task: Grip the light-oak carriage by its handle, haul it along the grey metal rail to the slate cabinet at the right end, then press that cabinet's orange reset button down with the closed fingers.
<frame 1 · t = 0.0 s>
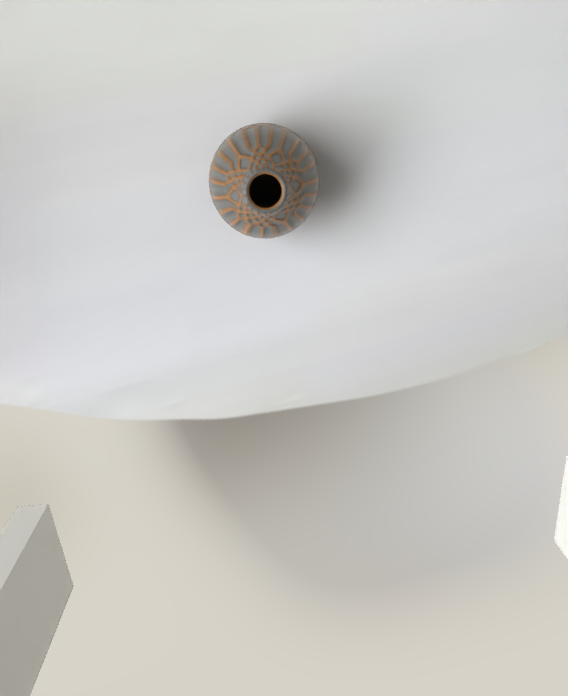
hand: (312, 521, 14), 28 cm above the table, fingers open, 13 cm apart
vase: (263, 176, 38), on the table
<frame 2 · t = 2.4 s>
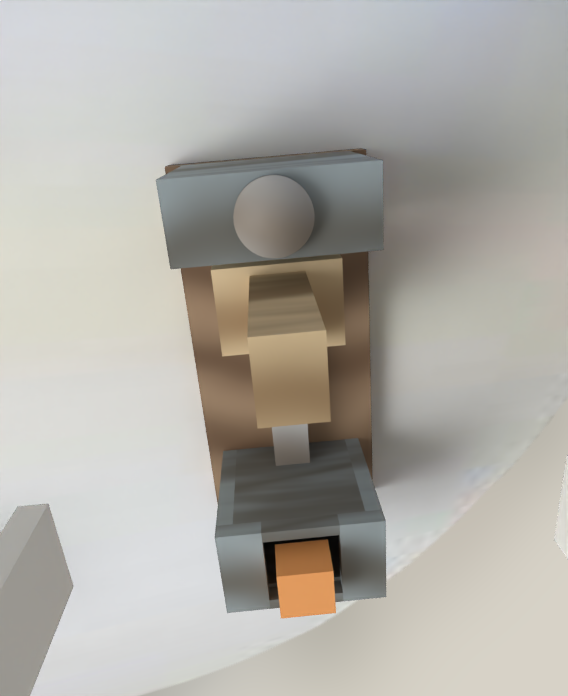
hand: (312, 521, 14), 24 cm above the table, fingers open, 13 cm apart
reset button: (304, 578, 32), point 11 cm above the table, slide at 0.0 cm
rail track: (282, 349, 38), on the table
carriage: (282, 320, 28), point 9 cm above the table, slide at -4.5 cm
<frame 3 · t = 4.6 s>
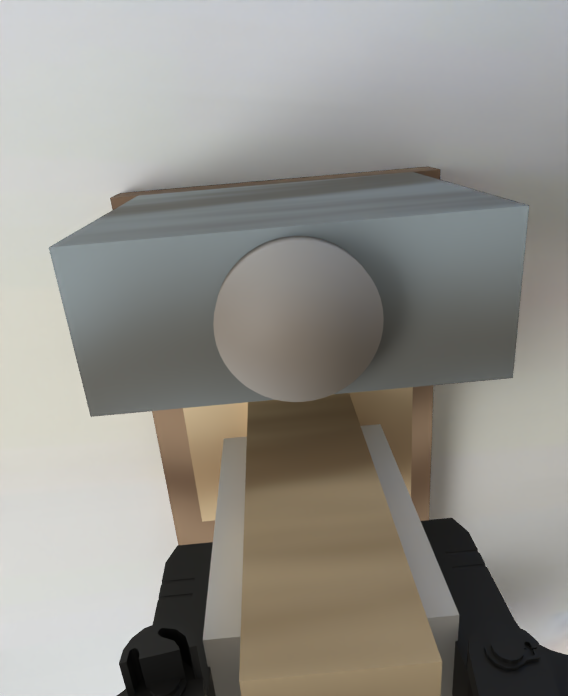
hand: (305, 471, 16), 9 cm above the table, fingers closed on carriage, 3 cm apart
rail track: (297, 461, 26), on the table
carriage: (307, 486, 15), point 9 cm above the table, slide at -4.5 cm, touching gripper
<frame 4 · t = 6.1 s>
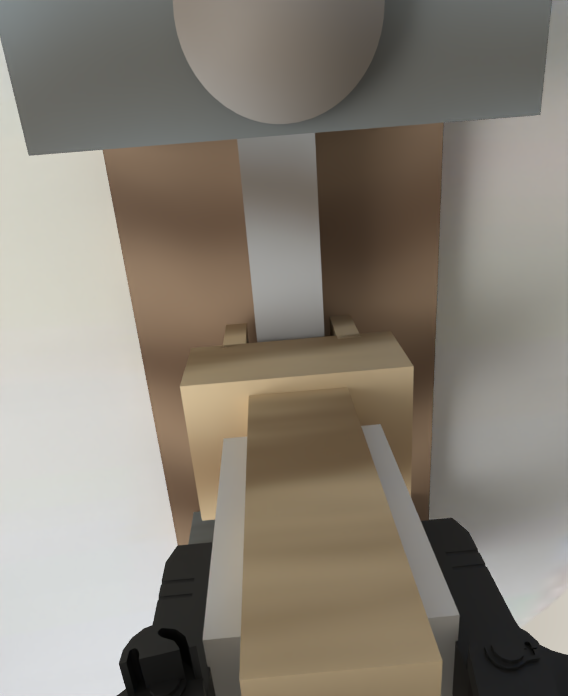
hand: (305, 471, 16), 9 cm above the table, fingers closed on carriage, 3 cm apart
rail track: (289, 351, 24), on the table
carriage: (307, 485, 15), point 9 cm above the table, slide at 1.3 cm, touching gripper
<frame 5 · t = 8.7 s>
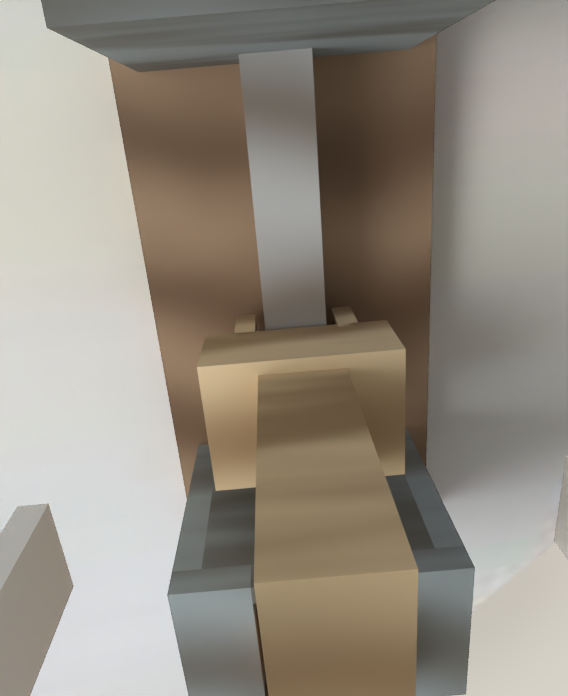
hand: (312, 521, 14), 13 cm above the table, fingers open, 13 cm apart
rail track: (290, 286, 25), on the table
carriage: (310, 454, 17), point 9 cm above the table, slide at 4.0 cm
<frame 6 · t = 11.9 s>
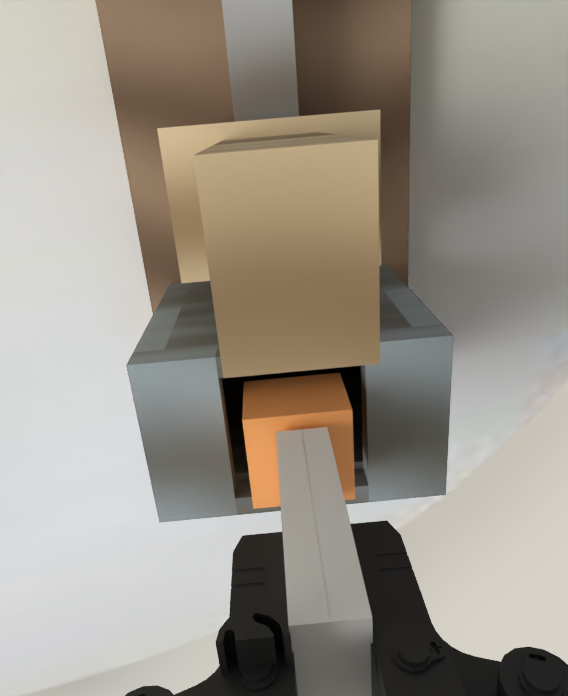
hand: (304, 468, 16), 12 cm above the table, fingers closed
reset button: (297, 438, 17), point 11 cm above the table, slide at 0.5 cm, touching gripper
rail track: (263, 108, 23), on the table
carriage: (278, 209, 16), point 9 cm above the table, slide at 4.0 cm
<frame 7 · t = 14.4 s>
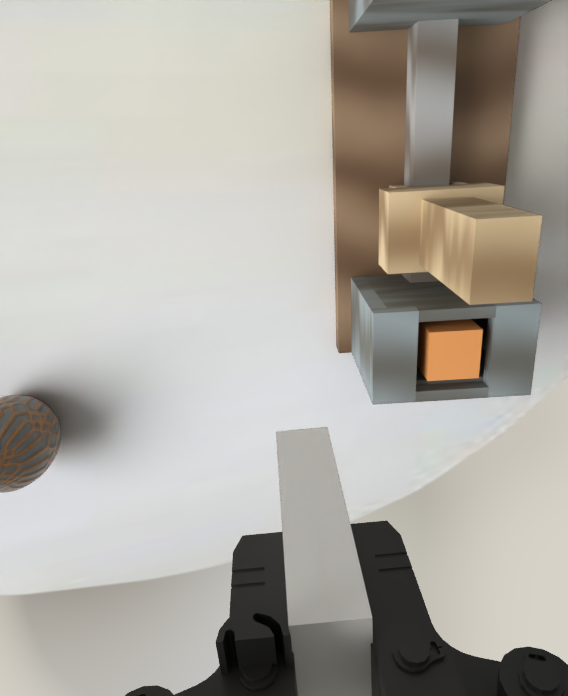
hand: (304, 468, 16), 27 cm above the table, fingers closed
vase: (30, 418, 45), on the table
reset button: (448, 348, 34), point 9 cm above the table, slide at 2.0 cm
rail track: (415, 174, 39), on the table
carriage: (455, 236, 31), point 9 cm above the table, slide at 4.0 cm
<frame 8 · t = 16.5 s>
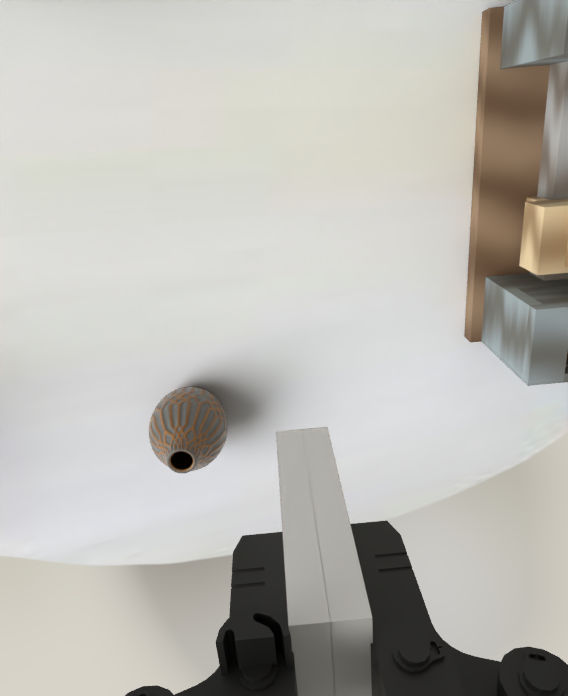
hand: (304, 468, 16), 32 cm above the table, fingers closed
vase: (193, 407, 52), on the table
rail track: (543, 186, 45), on the table
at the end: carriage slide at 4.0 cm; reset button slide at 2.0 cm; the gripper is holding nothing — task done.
